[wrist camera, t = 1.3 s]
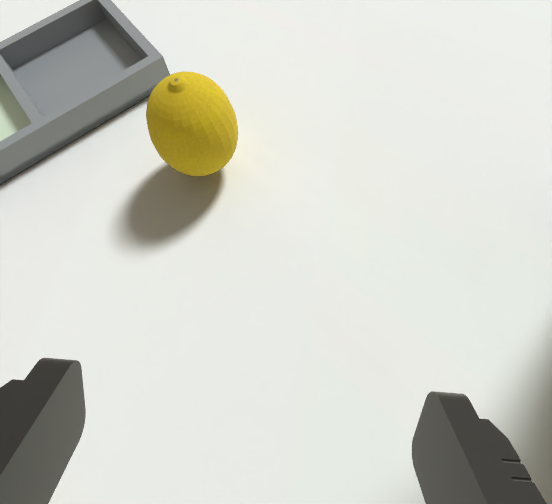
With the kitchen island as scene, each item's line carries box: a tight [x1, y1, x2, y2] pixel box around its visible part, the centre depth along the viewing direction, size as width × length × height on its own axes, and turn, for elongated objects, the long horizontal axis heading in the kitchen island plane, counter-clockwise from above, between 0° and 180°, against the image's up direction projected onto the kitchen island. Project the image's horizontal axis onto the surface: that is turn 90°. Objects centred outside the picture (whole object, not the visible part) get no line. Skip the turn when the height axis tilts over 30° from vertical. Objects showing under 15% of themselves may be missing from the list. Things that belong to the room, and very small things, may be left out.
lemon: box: [146, 72, 238, 176], centre depth 28 cm, size 6×6×8 cm
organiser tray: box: [0, 0, 170, 184], centre depth 35 cm, size 20×11×2 cm, turn 127°
